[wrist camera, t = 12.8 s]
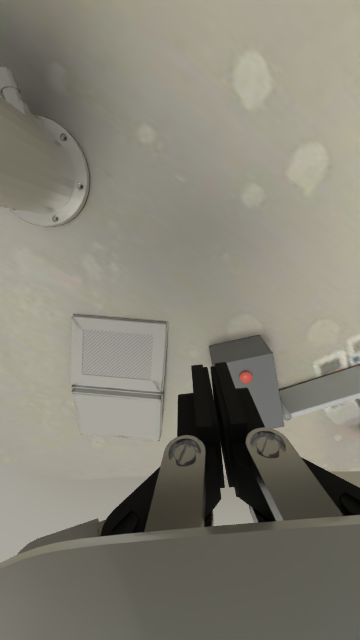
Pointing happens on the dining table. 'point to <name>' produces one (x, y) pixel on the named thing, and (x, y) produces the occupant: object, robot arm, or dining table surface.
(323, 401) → the side door
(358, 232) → the dining table surface
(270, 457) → the robot arm
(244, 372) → the gray box with knob
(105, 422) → the gadget
